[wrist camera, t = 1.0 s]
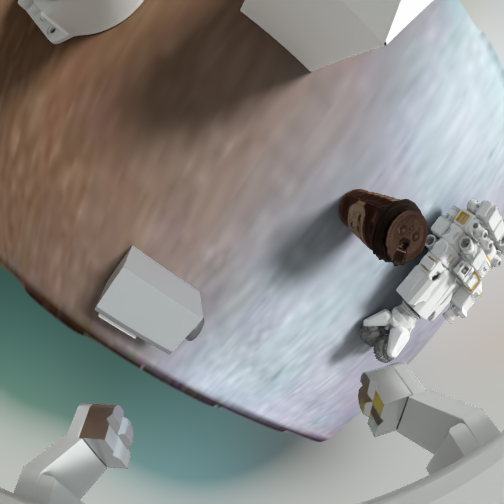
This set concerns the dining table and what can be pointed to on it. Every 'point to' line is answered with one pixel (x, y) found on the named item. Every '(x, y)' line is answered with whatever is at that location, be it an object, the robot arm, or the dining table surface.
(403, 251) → the coffee cup
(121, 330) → the side door
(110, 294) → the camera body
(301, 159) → the dining table surface
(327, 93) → the dining table surface
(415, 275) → the spaceship
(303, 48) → the gable box
